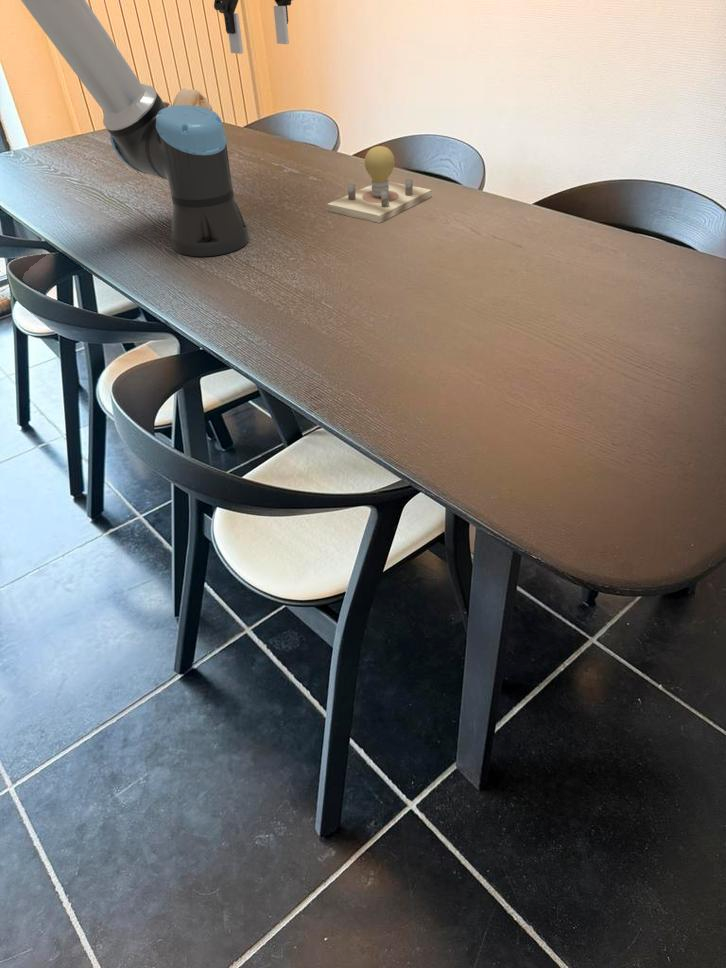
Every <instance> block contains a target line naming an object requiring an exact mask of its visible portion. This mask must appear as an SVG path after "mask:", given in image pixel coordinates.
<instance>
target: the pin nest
mask: <svg viewBox="0 0 726 968" xmlns="http://www.w3.org/2000/svg"><path fill="white" fill-rule="evenodd" d="M404 181H405V182H404V183H405V184H403V183H398V182H393V181H389V184H388V185H389V189H388V190H389V191H387V190H383V191H381V197H375V196H374V195H372V183H371V184H369V185H367V186H366V187H362V188H360V189H358V190H356V184H355V183H348V184H347V195H345V196H343V197H340V198H337V199H336V200H333V201H331V202H329V203H327V204H326V205H327V211H328V212H330V213H333V214H340V215H343V216H348V217H352V218H356V219H361V220H363V221H364V220H365V221H369V222H372V223H373V222H374V223H376V224H377V223H378V224H381V223H383V222H385V221H387V220H389V219H390V218H392V217H394V216H396V215H398V214H400V213H403V212H405V211H406V210H408V209H410V208H412V207H414V206H416V205H418V204H420V203H423V202H424V201H426V200H428V199H430V198H432V195H433V193H432V192H433V190H432V189H429V188H425V187H420V186H414V184H413V183H414V182H413V181H414V180H413V179H409V178H408V179H405V180H404Z"/></svg>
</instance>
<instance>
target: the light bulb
mask: <svg viewBox="0 0 726 968" xmlns="http://www.w3.org/2000/svg"><path fill="white" fill-rule="evenodd" d="M394 156H395V155H394V154H393V152H392V151H391V149H389V148H388V147H387V146H382V145H378V146H377V145H376V146H374V147H371V148H370V149H369V150H368V151H367V152H366V154H365V158H364V167H365V171H366V172H367V174H368V175H369V176H370V178H371V179H372V180H371V184H372V195H374V196H375V197H381V191H383V190H387V191H389V190H388V189H389V185H388V184H389V182H390V181H389V180H388V179H389V177H390V175H392V172H393V170H394V168H395V157H394Z"/></svg>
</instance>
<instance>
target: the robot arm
mask: <svg viewBox="0 0 726 968" xmlns="http://www.w3.org/2000/svg"><path fill="white" fill-rule="evenodd" d="M20 1H21V2H22V4H23V5H24V7H25V9H26V10H27V11H28V12H29V13H30V15H31V16H32V17H33V19H34V20H35V22H36V23H37V24H38V25H39V27H40V28H41V29H42V31H43V32H44V34H45V35H46V36H47V37H48V39H49V40H50V41H51V43H52V44H53V45H54V47H55V48H56V49H57V51H58V52H59V54H60V55H61V57H62V58H63V59H64V60H65V62H66V63H67V64H68V66H69V67H70V68H71V70H72V71H73V72H74V74H76V76H77V78H78V79H79V81H80V82H81V83H82V84H83V86H84V87H85V88H86V90H87V91H88V93H90V95H91V97H92V98H93V99H94V100H95V102H96V103H97V104H98V107H100V108H101V110H102V111H103V118H102V119H103V120H102V122H103V126H104V127H105V128H106V130H107V131H108V133H109V134H110V136H109V140H110V144H111V146H112V148H113V150H114V152H115V154H116V155H117V156H118V158H119V159H120V160H121V161H122V162H123V163H125V164H126V165H128V167H130V168H131V169H133V170H136V171H138V172H140V173H143V174H147V175H152V176H155V177H158V178H161V179H163V180H164V179H165V180H167V181H168V186H169V191H170V196H171V201H172V207H173V208H172V211H173V212H172V217H171V218H172V221H171V231H170V240H171V244H172V248H173V250H174V251H175V252H176V253H178V254H181V255H183V256H185V255H186V256H190V257H191V256H192V257H213V256H214V257H215V256H221V255H224V254H229V253H232V252H235V251H237V250H239V249H242V248H243V247H245V246H246V245H247V244H248V243H249V241H248V240H250V237H249V229H248V225H247V224H246V222H245V219H244V217H243V216H242V212H241V211H240V208H239V206H238V205H237V202H236V200H235V195H234V188H233V182H232V175H231V168H230V161H229V160H230V159H229V154H228V153H229V152H228V147H227V136H226V133H225V127H224V125H223V120H222V118H221V117H220V116H219V114H218V113H217V112H216V111H214V110H213V109H212V110H210V109H207V108H205V107H200V106H190V105H176V106H170V107H166V106H165V104H164V103H163V102H164V101H163V100H162V98H161V97H160V95H159V93H158V92H157V91H156V89H155V87H153V86H151V85H147V84H144V83H141V81H140V80H139V79H138V77H137V75H136V74H135V72H134V71H133V69H132V68H131V67H130V64H129V63H128V62H127V60H126V59H125V57H124V56H123V54H122V53H121V51H120V50H119V48H118V47H117V45H116V44H115V43H114V41H113V39H112V38H111V36H110V35H109V33H108V32H107V31H106V29H105V28H104V25H102V23H101V21H100V20H99V18H98V17H97V15H96V14H95V13H94V11H93V10H92V7H90V5H89V3H88V2H87V0H20ZM292 1H294V0H274V3H275V4H276V5H273V14H274V16H273V17H274V25H275V34H276V35H275V36H276V44H280V45H289V44H290V42H289V40H290V39H289V30H288V29H289V28H288V25H289V15H288V14H289V11H288V6H291V4H292ZM238 3H239V0H214V1H213V8H214V10H215V11H218V12H219V13H220V14H223V17H224V18H223V19H224V27H225V31H226V32H225V33H226V34H228V41H229V47H230V53H231V54H239V55H240V54H244V47H243V41H242V34H241V25H240V15H239V13H235V11H236V8H237V6H238ZM247 242H248V243H247Z"/></svg>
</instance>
